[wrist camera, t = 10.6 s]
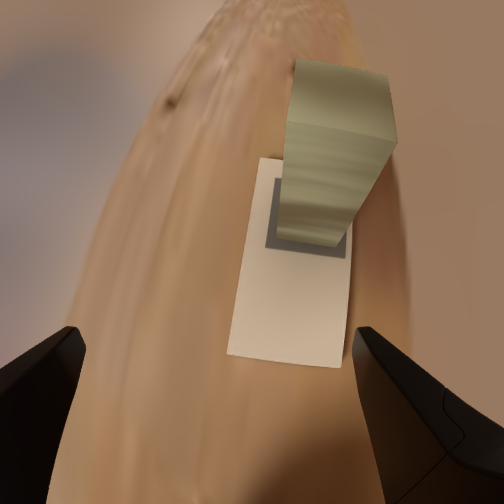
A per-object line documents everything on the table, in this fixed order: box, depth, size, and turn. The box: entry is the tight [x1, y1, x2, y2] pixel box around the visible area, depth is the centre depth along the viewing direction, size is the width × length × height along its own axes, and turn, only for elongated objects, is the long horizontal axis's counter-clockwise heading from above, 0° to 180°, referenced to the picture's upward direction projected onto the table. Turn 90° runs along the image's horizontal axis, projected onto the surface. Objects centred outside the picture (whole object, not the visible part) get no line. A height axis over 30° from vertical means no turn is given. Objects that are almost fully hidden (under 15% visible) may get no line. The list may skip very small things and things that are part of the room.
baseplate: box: [227, 158, 353, 368], centre depth 23 cm, size 16×8×1 cm, turn 171°
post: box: [276, 58, 397, 248], centre depth 18 cm, size 4×4×12 cm
